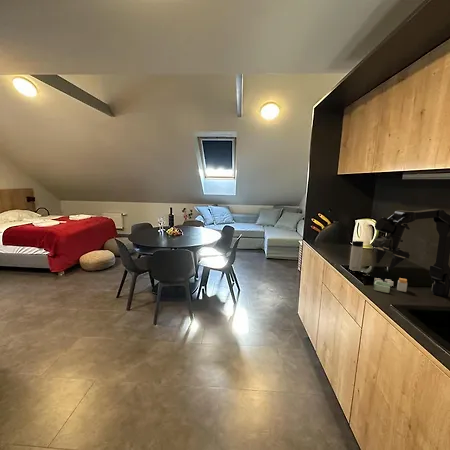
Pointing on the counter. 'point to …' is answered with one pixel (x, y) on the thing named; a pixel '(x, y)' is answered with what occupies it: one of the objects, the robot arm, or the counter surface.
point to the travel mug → (356, 255)
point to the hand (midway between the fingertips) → (383, 265)
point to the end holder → (382, 286)
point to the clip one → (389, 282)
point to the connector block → (402, 285)
